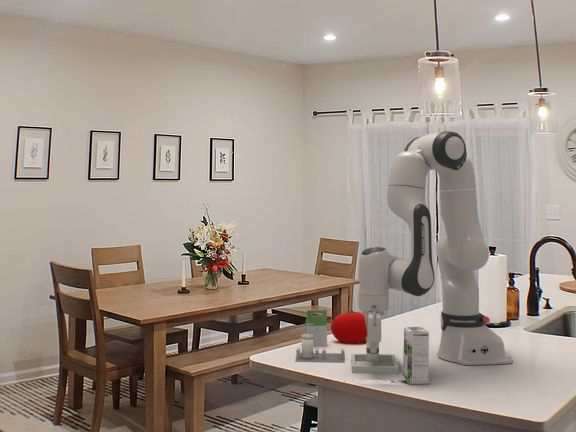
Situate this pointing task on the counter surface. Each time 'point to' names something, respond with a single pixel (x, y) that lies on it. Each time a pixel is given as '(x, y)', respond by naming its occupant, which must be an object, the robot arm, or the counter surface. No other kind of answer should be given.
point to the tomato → (349, 328)
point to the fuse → (372, 356)
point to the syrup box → (416, 355)
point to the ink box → (317, 327)
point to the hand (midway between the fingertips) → (372, 350)
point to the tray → (374, 369)
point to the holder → (316, 352)
